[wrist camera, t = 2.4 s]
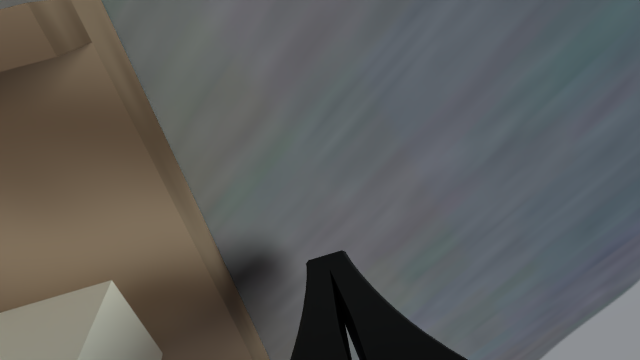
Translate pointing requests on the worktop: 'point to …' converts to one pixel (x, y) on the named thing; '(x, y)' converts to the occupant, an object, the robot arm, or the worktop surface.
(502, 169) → the worktop surface
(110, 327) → the cream cube
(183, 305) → the box
